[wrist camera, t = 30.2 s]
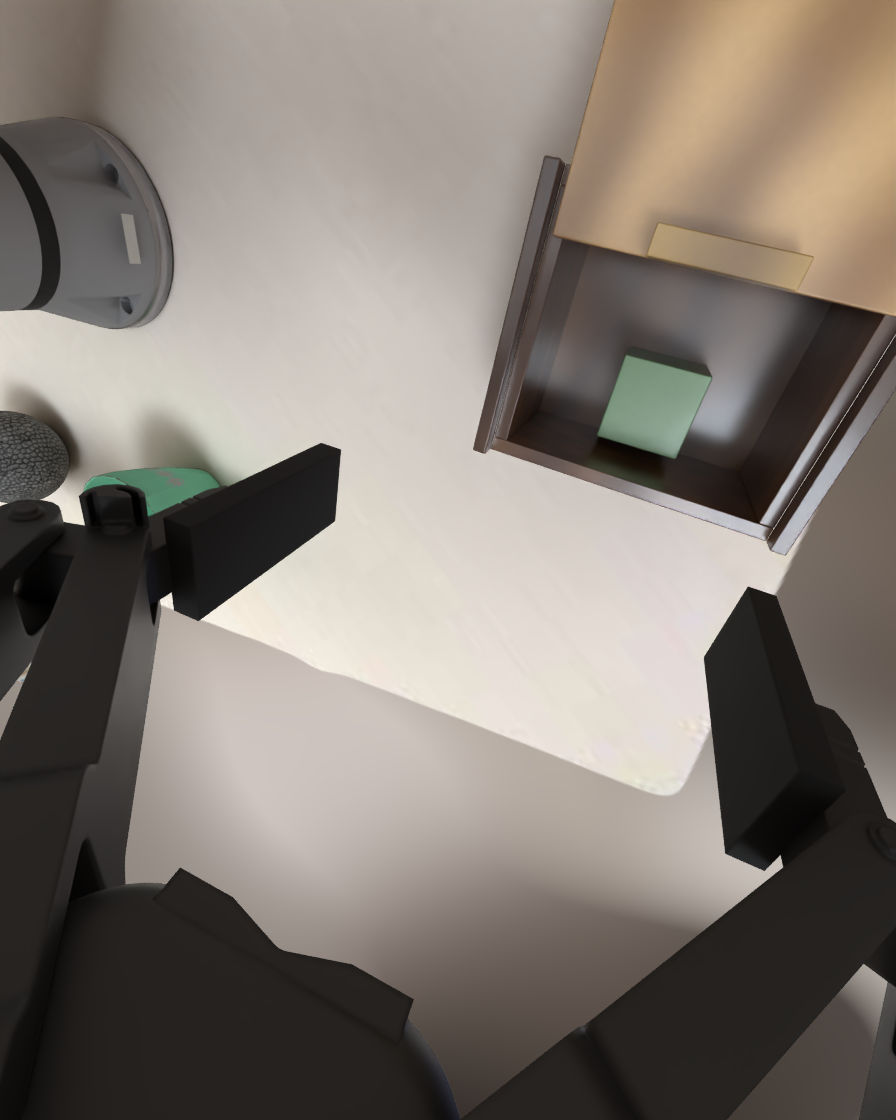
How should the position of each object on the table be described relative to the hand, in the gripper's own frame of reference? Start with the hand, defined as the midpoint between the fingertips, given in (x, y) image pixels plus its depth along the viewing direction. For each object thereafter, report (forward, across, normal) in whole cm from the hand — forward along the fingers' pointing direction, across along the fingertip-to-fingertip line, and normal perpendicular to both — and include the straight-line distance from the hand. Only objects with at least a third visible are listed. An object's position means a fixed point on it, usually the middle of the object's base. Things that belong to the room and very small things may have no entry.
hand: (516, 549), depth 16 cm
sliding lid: (+15, +4, +16) cm, 22 cm away
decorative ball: (+26, -58, -22) cm, 67 cm away
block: (+24, +3, +2) cm, 24 cm away
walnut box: (+25, +4, +4) cm, 26 cm away
